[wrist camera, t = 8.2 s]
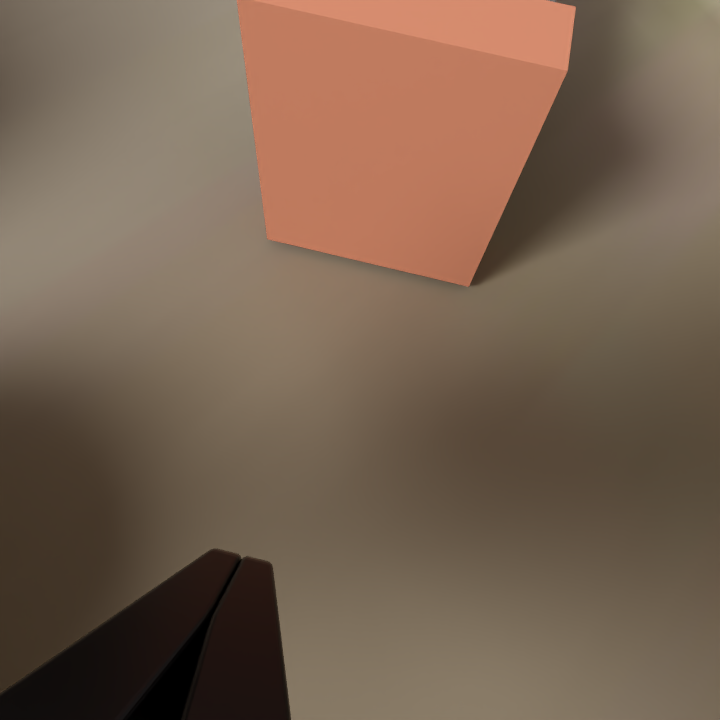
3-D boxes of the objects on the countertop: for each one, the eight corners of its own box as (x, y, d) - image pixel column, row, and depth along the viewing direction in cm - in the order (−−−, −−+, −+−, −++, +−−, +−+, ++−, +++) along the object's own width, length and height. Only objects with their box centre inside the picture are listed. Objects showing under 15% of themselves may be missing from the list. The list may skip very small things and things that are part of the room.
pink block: (468, 286, 20) (567, 71, 12) (267, 239, 20) (236, -4, 13) (508, 69, 24) (601, -197, 16) (341, 31, 25) (353, -249, 17)
